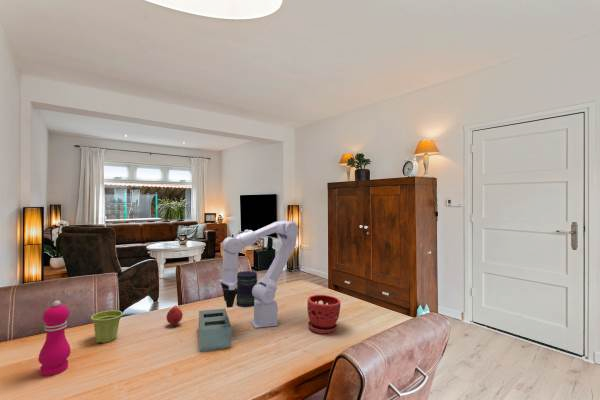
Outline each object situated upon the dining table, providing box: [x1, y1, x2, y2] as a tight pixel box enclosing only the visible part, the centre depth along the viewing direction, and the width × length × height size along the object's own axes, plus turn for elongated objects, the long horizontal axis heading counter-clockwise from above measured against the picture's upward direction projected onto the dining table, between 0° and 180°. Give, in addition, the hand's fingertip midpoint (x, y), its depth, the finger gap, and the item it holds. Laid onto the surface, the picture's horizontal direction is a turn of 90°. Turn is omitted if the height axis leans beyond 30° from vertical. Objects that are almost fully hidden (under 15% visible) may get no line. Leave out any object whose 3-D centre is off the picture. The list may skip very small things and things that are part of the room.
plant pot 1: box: [90, 309, 124, 344], centre depth 107 cm, size 9×9×9 cm
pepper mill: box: [38, 299, 72, 377], centre depth 88 cm, size 7×7×20 cm
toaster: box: [197, 308, 232, 353], centre depth 111 cm, size 10×19×7 cm, turn 20°
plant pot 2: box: [307, 294, 341, 334], centre depth 121 cm, size 13×13×12 cm
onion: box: [166, 304, 183, 327], centre depth 121 cm, size 6×6×8 cm
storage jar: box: [235, 270, 258, 308], centre depth 149 cm, size 10×10×15 cm
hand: (228, 303), depth 117 cm, fingers open, 7 cm apart
